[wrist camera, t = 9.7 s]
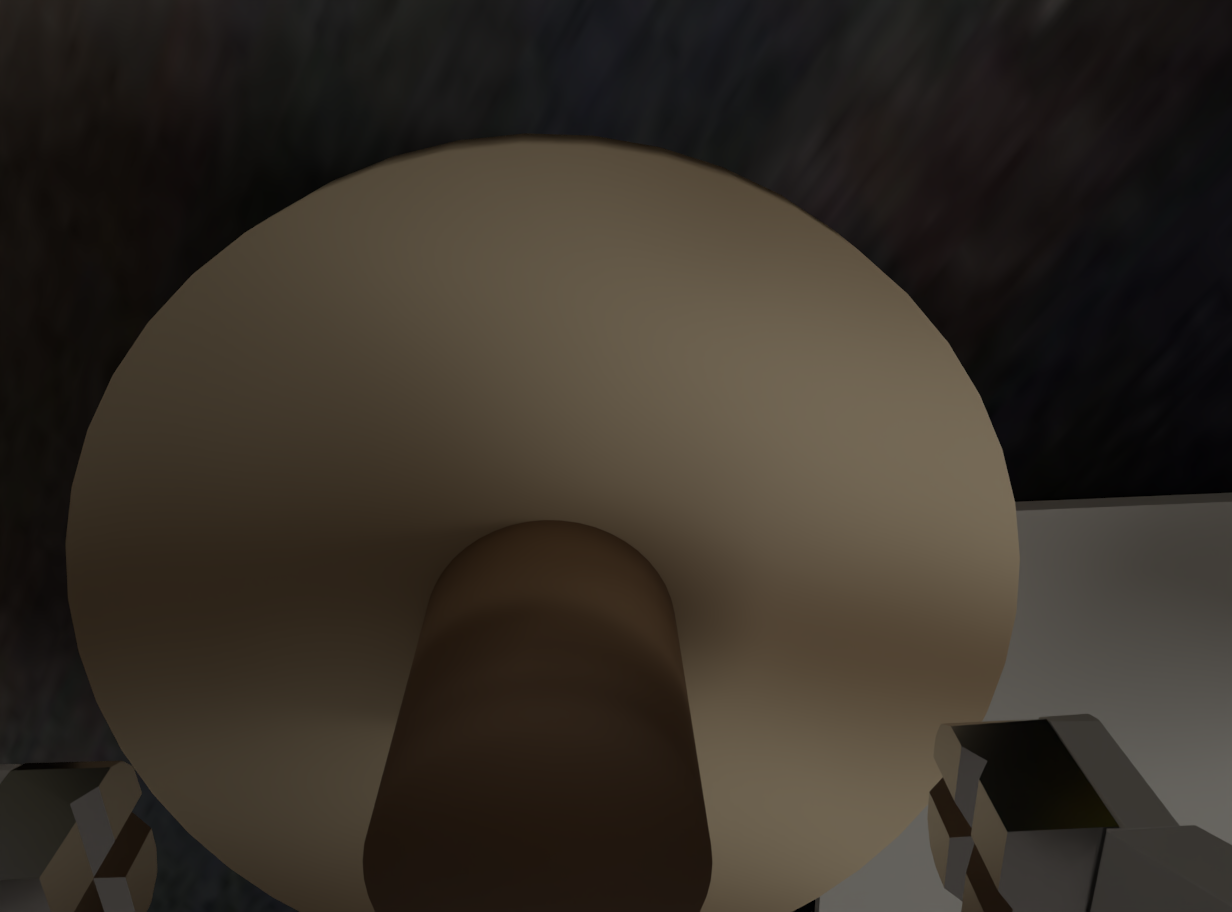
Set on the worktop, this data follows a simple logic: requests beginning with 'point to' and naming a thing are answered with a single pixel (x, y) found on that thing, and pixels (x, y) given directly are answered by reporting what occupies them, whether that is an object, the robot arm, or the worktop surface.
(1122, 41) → the worktop surface
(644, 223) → the lid
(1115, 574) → the mat
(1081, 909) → the robot arm
